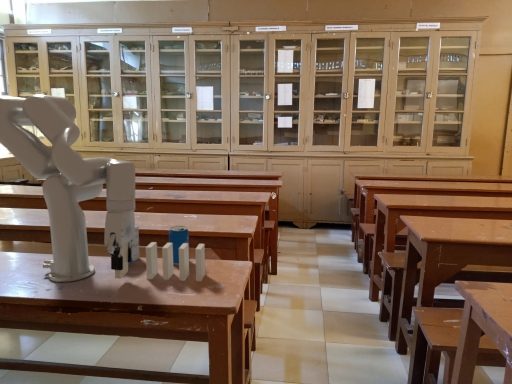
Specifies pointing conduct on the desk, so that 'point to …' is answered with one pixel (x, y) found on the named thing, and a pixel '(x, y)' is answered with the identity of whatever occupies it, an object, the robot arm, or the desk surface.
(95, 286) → the desk surface
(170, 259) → the domino
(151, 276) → the domino
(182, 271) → the domino
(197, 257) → the domino
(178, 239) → the beverage can
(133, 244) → the ink box
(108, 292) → the desk surface
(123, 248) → the domino
